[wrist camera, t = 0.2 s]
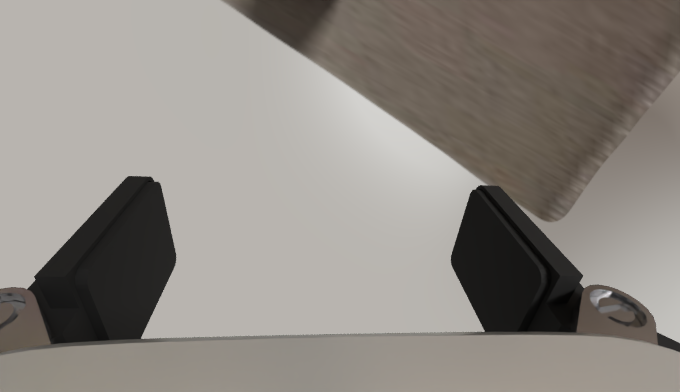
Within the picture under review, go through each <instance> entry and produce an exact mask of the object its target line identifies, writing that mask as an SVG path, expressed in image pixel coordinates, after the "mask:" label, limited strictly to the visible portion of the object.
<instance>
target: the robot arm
mask: <svg viewBox="0 0 680 392" xmlns="http://www.w3.org/2000/svg"><path fill="white" fill-rule="evenodd" d="M175 263H176V253H175V248H174V243H173V239H172V234H171V229H170V225H169V220H168V216H167V211H166V207H165V202H164V197H163V193H162V189H161V185H160V183H159V182H154V180H153V178H151V177H141V176H139V177H138V176H128V177H127V178H126V179H125V180H124V181H123V182H122V183H121V184H120V185H119V186H118V187H117V188H116V190H115V191H114V192H113V193H112V194H111V195H110V196H109V197H108V198H107V199H106V200H105V202H103V204H102V205H101V206H100V207H99V208H98V209H97V210H96V211H95V212H94V213H93V214H92V215H91V216H90V217H89V218H88V220H87V221H86V222H85V223H84V224H83V225H82V226H81V227H80V228H79V229H78V230H77V231H76V232H75V234H74V235H73V236H72V237H71V238H70V239H69V240H68V241H67V242H66V243H65V244H64V245H63V246H62V247H61V248H60V250H59V251H58V252H57V253H56V254H55V255H54V256H53V257H52V258H51V259H50V260H49V261H48V263H47V264H46V265H45V266H44V267H43V268H42V269H41V270H40V271H39V272H38V273H37V274H36V275H35V276H34V277H35V279H36V280H35V282H33V284H32V285H31V286H30V287H29V288H28V289H25V288H16V287H11V288H4V289H0V392H680V343H678V342H676V341H674V340H672V339H670V338H667V337H666V336H663V335H661V334H659V333H657V331H656V323H655V320H654V317H653V315H652V314H651V313H650V312H649V310H648V309H647V308H646V307H645V306H644V305H642V304H641V303H640V302H639V301H638V300H636V299H634V298H633V297H631V296H630V295H628V294H626V293H624V292H622V291H620V290H618V289H615V288H612V287H609V286H603V285H590V286H588V287H586V288H583V287H582V285H581V284H580V283H579V282H580V280H581V279H582V277H583V275H582V274H581V273H580V272H579V271H578V270H577V269H576V267H575V266H574V265H573V264H572V263H571V262H570V261H569V260H568V259H567V258H566V257H565V256H564V255H563V254H562V253H561V251H560V250H559V249H558V248H557V247H556V246H555V245H554V244H553V243H552V242H551V241H550V240H549V239H548V238H547V237H546V235H545V234H544V233H543V232H542V231H541V230H540V229H539V228H538V227H537V226H536V225H535V224H534V223H533V222H532V221H531V220H530V218H529V217H528V216H527V215H526V214H525V213H524V212H523V211H522V210H521V209H520V208H519V207H518V206H517V205H516V203H515V202H514V201H513V200H512V199H511V198H510V197H509V196H508V195H507V194H506V193H505V192H504V191H503V190H502V189H501V188H500V187H499V186H482V185H480V186H478V187H477V188H476V190H472V192H471V193H470V197H469V200H468V203H467V206H466V209H465V213H464V216H463V219H462V222H461V226H460V229H459V233H458V235H457V239H456V242H455V245H454V248H453V252H452V255H451V264H452V267H453V269H454V271H455V273H456V275H457V277H458V279H459V281H460V283H461V285H462V287H463V289H464V291H465V293H466V295H467V297H468V299H469V301H470V303H471V305H472V307H473V309H474V310H475V313H476V315H477V316H478V318H479V321H480V322H481V324H482V326H483V328H484V330H485V332H451V333H450V332H448V333H447V332H446V333H382V334H326V335H325V334H324V335H276V336H235V337H194V338H159V339H158V338H157V339H141V336H142V334H143V332H144V330H145V328H146V326H147V324H148V322H149V319H150V317H151V315H152V313H153V311H154V309H155V307H156V305H157V303H158V301H159V298H160V296H161V294H162V292H163V290H164V288H165V286H166V284H167V281H168V279H169V277H170V275H171V273H172V271H173V269H174V266H175Z"/></svg>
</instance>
